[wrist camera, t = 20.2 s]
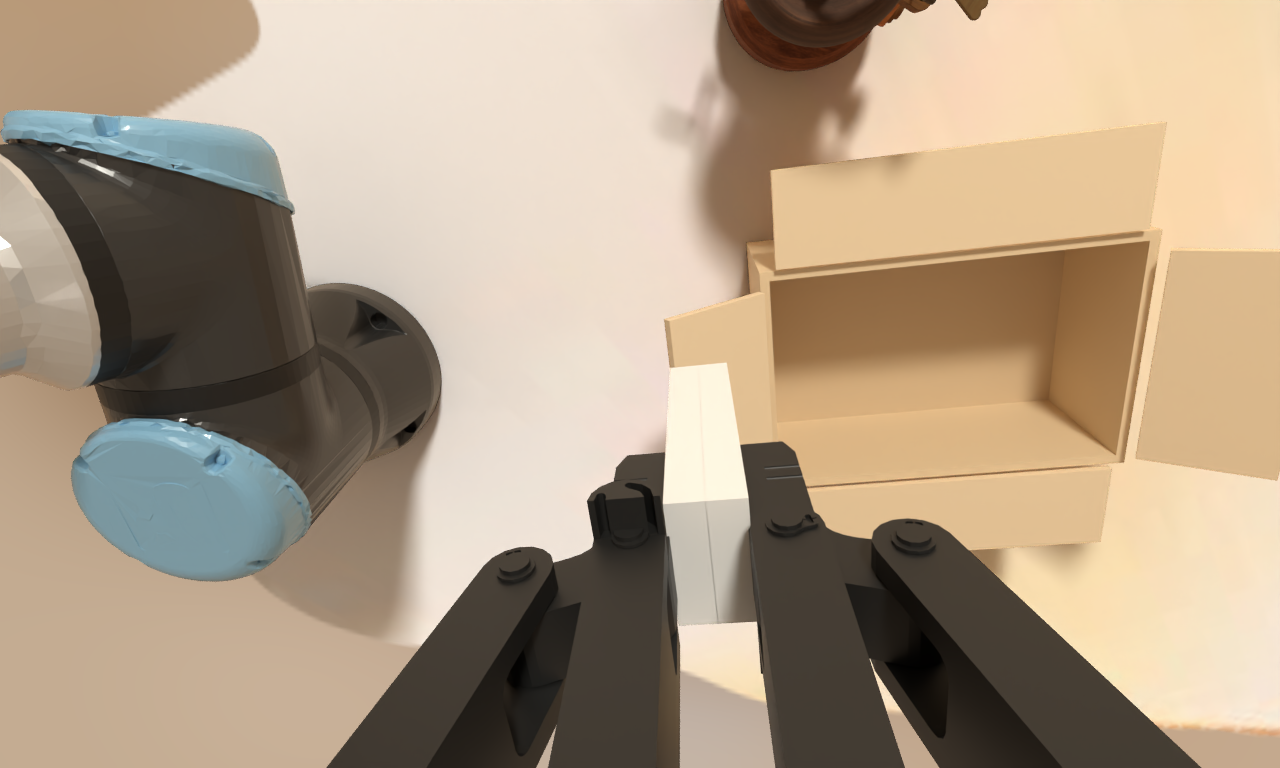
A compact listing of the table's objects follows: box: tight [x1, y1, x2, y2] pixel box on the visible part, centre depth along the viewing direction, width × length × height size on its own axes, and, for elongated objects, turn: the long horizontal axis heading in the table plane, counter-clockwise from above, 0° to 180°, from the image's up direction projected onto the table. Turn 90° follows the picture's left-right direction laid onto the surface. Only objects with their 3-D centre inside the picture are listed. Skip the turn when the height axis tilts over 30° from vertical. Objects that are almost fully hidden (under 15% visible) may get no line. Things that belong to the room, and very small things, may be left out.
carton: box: [746, 122, 1167, 550], centre depth 49 cm, size 24×28×10 cm
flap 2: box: [1136, 248, 1280, 481], centre depth 41 cm, size 1×14×7 cm
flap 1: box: [664, 292, 773, 445], centre depth 44 cm, size 1×14×7 cm
